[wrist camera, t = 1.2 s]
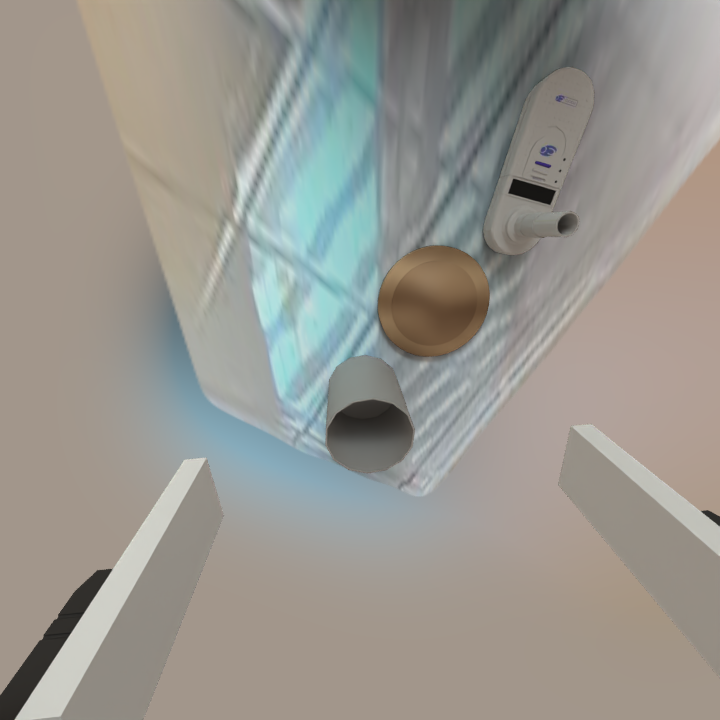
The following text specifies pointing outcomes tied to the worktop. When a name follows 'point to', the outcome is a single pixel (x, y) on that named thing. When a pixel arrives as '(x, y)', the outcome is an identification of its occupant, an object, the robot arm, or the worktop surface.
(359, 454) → the cup
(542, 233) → the electronic device
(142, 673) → the robot arm
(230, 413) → the worktop surface
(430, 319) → the plate
